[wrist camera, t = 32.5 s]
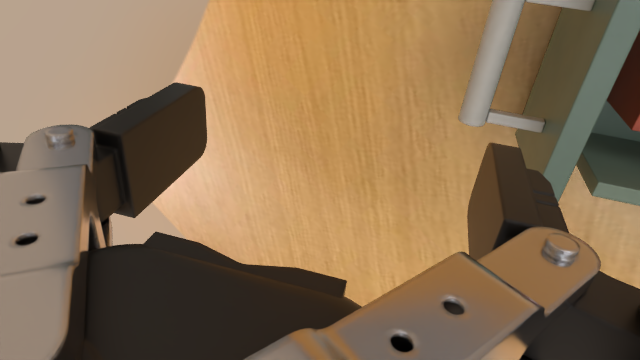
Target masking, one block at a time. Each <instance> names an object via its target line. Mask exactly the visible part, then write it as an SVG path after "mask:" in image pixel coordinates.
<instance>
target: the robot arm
mask: <svg viewBox="0 0 640 360" xmlns="http://www.w3.org/2000/svg"><path fill="white" fill-rule="evenodd" d="M206 143H207V127H206V107H205V95H204V91H203V89H202V88H201V87H197V86H192V85H187V84H181V83H173V84H171V85H169V86H168V87H166V88H164V89H162V90H160V91H159V92H157V93H155V94H154V95H152V96H150V97H148V98H144V99H141V100H138V101H136V102H135V103H133V104H131V105H129V106H127V109H126V108H124V109H122V110H120V111H118V112H117V114H113V115H111V116H110V117H108V118H106V119H104V120H102V121H101V122H99V123H97V124H95V125H93V126H92V127H90V128H87V127H84V126H79V125H57V126H51V127H47V128H43V129H40V130H38V131H36V132H33V133H32V134H30V135H29V136H28V137H27V138H26V140H25V142H24V143H0V360H640V289H638V288H636V287H633V286H631V285H628V284H626V283H624V282H621V281H619V280H616V279H614V278H612V277H610V276H608V275H606V274H604V273H602V272H601V271H599V269H600V267H601V261H600V259H599V256H598V255H597V253H596V252H595V251H594V250H593V249H592V248H591V247H590V246H589V245H588V244H587V243H585V242H584V241H582V240H581V239H579V238H577V237H576V236H574V235H572V234H569V231H568V229H567V226H566V223H565V221H564V218H563V215H562V212H561V210H560V207H558V205H559V204H558V202H557V199H556V197H555V194H554V191H553V188H552V185H551V183H550V182H549V181H548V180H547V179H546V178H545V177H544V176H543V175H542V174H541V173H540V172H539V171H537V170H532V169H527V168H526V165H525V161H524V158H523V155H522V151H521V149H520V148H517V147H512V146H506V145H501V144H496V143H489V145H488V146H487V149H486V151H485V154H484V157H483V160H482V163H481V166H480V169H479V172H478V175H477V178H476V182H475V185H474V188H473V191H472V194H471V197H470V201H469V206H468V215H467V218H468V242H469V255H468V254H466V253H465V252H457V253H455V254H453V255H451V256H449V257H448V258H446V259H444V260H443V261H441V262H439V263H437V264H436V265H434V266H432V267H431V268H429V269H427V270H425V271H424V272H422V273H420V274H418V275H417V276H415V277H413V278H412V279H410V280H408V281H406V282H405V283H403V284H401V285H400V286H398V287H396V288H394V289H393V290H391V291H389V292H387V293H386V294H384V295H382V296H381V297H379V298H377V299H375V300H374V301H372V302H370V303H368V304H367V305H365V306H363V307H361V306H360V305H358V304H356V303H355V302H353V301H352V300H350V299H348V298H346V297H344V295H345V289H346V283H347V281H346V280H342V279H339V278H335V277H331V276H327V275H323V274H319V273H315V272H311V271H307V270H303V269H300V268H292V267H277V266H262V265H247V264H242V263H239V262H236V261H234V260H232V259H230V258H229V257H227V256H225V255H223V254H221V253H219V252H217V251H215V250H213V249H211V248H209V247H207V246H205V245H203V244H201V243H198V242H194V241H190V240H186V239H183V238H178V237H175V236H171V235H167V234H163V233H159V232H155V233H154V234H153V235H152V236H151V237H150V238H149V239H148V240H147V241H146V242H145V243H144V244H125V245H116V246H113V243H112V242H113V241H112V224H111V219H110V215H112V214H113V213H116V214H120V215H124V216H128V217H133V218H135V217H136V216H137V215H138V214H140V213H141V212H142V211H143V210H144V209H145V208H146V207H147V206H148V205H149V204H151V203H152V202H153V201H154V200H155V199H156V198H157V197H158V196H159V195H160V194H161V193H162V192H164V191H165V190H166V189H167V188H168V187H169V186H170V185H171V184H172V183H173V182H174V181H175V180H177V179H178V178H179V177H180V176H181V175H182V174H183V173H184V172H185V171H186V170H187V169H188V168H190V167H191V166H192V165H193V164H194V163H195V162H196V161H197V160H198V159H199V158H200V157H201V156H202V155H203V153H204V151H205V148H206Z"/></svg>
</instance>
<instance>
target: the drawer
mask: <svg viewBox="0 0 640 360" xmlns="http://www.w3.org/2000/svg"><path fill="white" fill-rule="evenodd" d="M525 1H526V2H529V3H536V4H543V5H550V6H557V7H563V8H562V10H561V13H560V16H559V18H558V21H557V24H556V26H555V29H554V32H553V34H552V37H551V40H550V42H549V45H548V48H547V50H546V53H545V56H544V58H543V61H542V64H541V67H540V69H539V72H538V75H537V77H536V80H535V83H534V85H533V88H532V91H531V93H530V96H529V99H528V101H527V104H526V107H525V109H524V112H523V115H521V114H516V113H511V112H505V111H500V110H494V109H490V106H491V103H492V100H493V97H494V94H495V91H496V88H497V85H498V82H499V79H500V76H501V73H502V70H503V66H504V63H505V60H506V57H507V54H508V51H509V48H510V45H511V42H512V39H513V36H514V33H515V30H516V27H517V24H518V21H519V18H520V15H521V11H522V8H523V5H524V2H525ZM639 30H640V0H492V3H491V6H490V10H489V13H488V17H487V20H486V24H485V27H484V30H483V34H482V37H481V41H480V44H479V48H478V51H477V55H476V58H475V61H474V65H473V68H472V72H471V75H470V79H469V82H468V86H467V89H466V93H465V96H464V99H463V103H462V106H461V110H460V113H459V117H458V119H459V121H460V122H462V123H464V124H466V125H469V126H475V127H480V126H483V125H484V124H485V121H486V122H487V123H492V124H497V125H503V126H508V127H513V128H517V131H516V134H515V135H516V139H517V142H518V146H519V148H520V149H521V151H522V155H523V158H524V161H525V165H526V168H527V169H532V170H537V171H539V172H540V173H541V174H542V175H543V176H544V177H545V178H546V179H547V180H548V181H549V182H550V183H551V185H552V188H553V191H554V194H555V197H556V199H557V202H558V201H559V199H560V197H561V195H562V193H563V191H564V189H565V187H566V184H567V182H568V180H569V178H570V176H571V174H572V172H573V170H574V168H575V165H577V167H578V169H579V171H580V173H581V175H582V177H583V179H584V181H585V183H586V185H587V187H588V189H589V191H590V193H591V195H592V196H596V197H600V198H605V199H610V200H615V201H619V202H624V203H629V204H634V205H638V206H640V132H639V131H633V130H631V129H630V128H629V126H628V125H627V124H626V123H625V122H624V121H623V119H622V118H621V117H620V116H619V115H618V113H617V112H616V111H615V110H614V109H613V108H612V106H611V105H610V104H609V103H608V102H607V98H608V96H609V94H610V92H611V90H612V87H613V85H614V83H615V81H616V79H617V77H618V75H619V73H620V71H621V68H622V66H623V64H624V62H625V60H626V58H627V56H628V54H629V52H630V49H631V47H632V45H633V43H634V41H635V39H636V37H637V35H638V33H639Z"/></svg>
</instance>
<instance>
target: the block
mask: <svg viewBox="0 0 640 360" xmlns="http://www.w3.org/2000/svg"><path fill="white" fill-rule="evenodd" d="M607 102H608V103H609V104H610V105H611V106H612V108H613V109H614V110H615V111H616V112H617V113H618V115H619V116H620V117H621V118H622V119H623V121H624V122H625V123H626V124H627V125H628V126H629V128H630V129H631V130H633V131H639V132H640V30H639V33H638V35H637V37H636V39H635V41H634V43H633V45H632V47H631V49H630V52H629V54H628V56H627V58H626V60H625V62H624V64H623V66H622V68H621V71H620V73H619V75H618V77H617V79H616V81H615V83H614V85H613V87H612V90H611V92H610V94H609V96H608V98H607Z"/></svg>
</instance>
